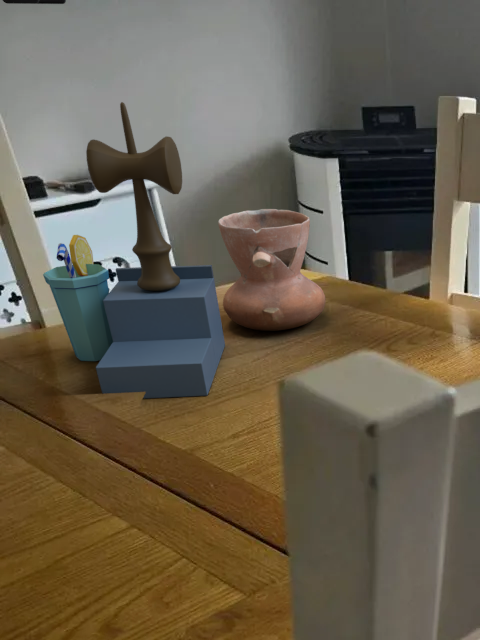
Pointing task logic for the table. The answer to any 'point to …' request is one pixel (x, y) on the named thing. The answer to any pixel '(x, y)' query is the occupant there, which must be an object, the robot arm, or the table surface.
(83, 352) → the cup
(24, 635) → the table surface
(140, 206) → the kendama
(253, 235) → the ceramic jug
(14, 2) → the robot arm
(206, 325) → the step rack
